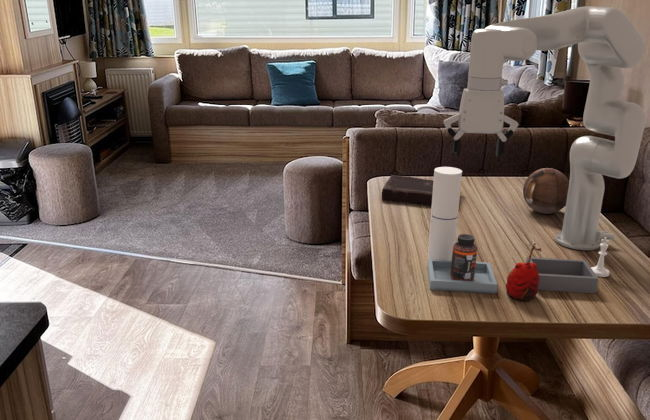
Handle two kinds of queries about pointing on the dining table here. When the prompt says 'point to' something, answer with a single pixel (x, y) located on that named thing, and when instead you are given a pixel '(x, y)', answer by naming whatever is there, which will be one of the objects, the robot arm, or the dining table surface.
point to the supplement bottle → (464, 258)
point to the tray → (443, 281)
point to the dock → (565, 275)
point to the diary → (408, 190)
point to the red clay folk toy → (523, 280)
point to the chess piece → (601, 261)
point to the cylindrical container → (444, 212)
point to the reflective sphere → (546, 190)
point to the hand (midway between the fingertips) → (477, 155)
